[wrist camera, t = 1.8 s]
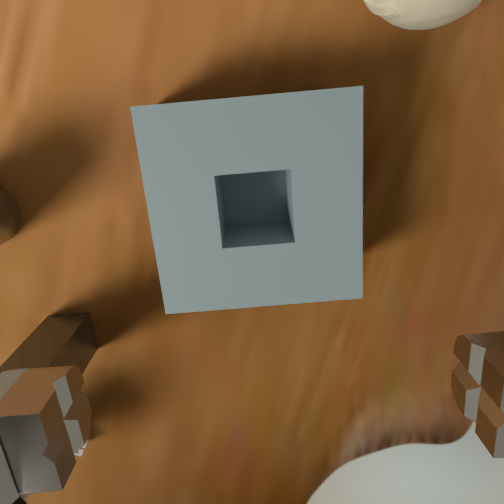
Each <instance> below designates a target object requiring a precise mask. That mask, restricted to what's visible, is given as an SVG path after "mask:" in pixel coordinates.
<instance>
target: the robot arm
mask: <svg viewBox="0 0 504 504" xmlns="http://www.w3.org/2000/svg"><path fill="white" fill-rule="evenodd" d="M454 354H455V356H456V357H457V358H458V359H459V361H460V362H459V363H458V364H457V366H456V367H455V368H454V369H453V370H452V381H451V385H452V390H453V395H454V399H455V401H456V403H457V406H458V408H459V409H460V411H461V412H462V414H463V415H464V416H465V417H467V418H469V419H470V420H472V421H474V422H476V430H475V432H476V434H477V435H478V437H479V438H480V440H481V441H482V442H483V444H484V445H485V447H486V448H487V449H488V451H489V452H490V454H491V455H492V456H493V458H504V331H500V332H490V333H481V334H471V335H461V336H457V338H456V341H455V344H454ZM83 384H84V380H83V376H82V373H81V370H80V369H79V368H78V367H77V366H58V367H41V368H30V369H29V368H23V369H13V370H7V371H3V372H1V373H0V504H12V503H13V502H14V501H15V500H16V499H17V498H19V495H20V494H30V493H39V492H49V491H58V490H63V488H64V486H65V484H66V482H67V480H68V478H69V476H70V474H71V472H72V470H73V468H74V466H75V464H76V460H75V456H74V453H75V452H76V451H77V450H79V449H80V448H81V447H82V446H84V445H85V442H86V440H87V438H88V436H89V433H90V427H91V421H92V416H91V407H90V402H89V399H88V398H87V397H85V396H84V395H83V394H82V393H81V392H80V389H81V387H82V386H83Z"/></svg>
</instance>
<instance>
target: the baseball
mask: <svg viewBox="0 0 504 504" xmlns="http://www.w3.org/2000/svg"><path fill="white" fill-rule="evenodd" d="M363 1H364V3H365V4H366V6H367V7H368V8H369V10H370V11H371V12H372V13H374V14H375V15H378V16H381V17H382V18H383V19H384V20H386V21H387V22H389V23H390V24H392V25H394V26H397V27H400V28H403V29H407V30H427V29H434V28H437V27H441V26H443V25H446V24H449V23H451V22H453V21H455V20H457V19H459V18H461V17H462V16H464V15H466V14H468V13H469V12H470V11H472V10H473V9H475V8H476V7H477V6H478V5H479V4H480V3H481V1H482V0H363Z"/></svg>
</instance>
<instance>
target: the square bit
mask: <svg viewBox="0 0 504 504" xmlns="http://www.w3.org/2000/svg"><path fill="white" fill-rule="evenodd" d="M96 351H97V345H96V341H95V336H94V332H93V328H92V324H91V320H90V315H89V313H81V314H69V315H57V316H47V317H46V319H45V320H44V321H43V322H42V323H41V324H40V325H39V326H38V327H37V328H36V329H35V330H34V331H33V332H32V333H31V335H30V336H29V337H28V338H27V339H26V340H25V341H24V342H23V343H22V344H21V345H20V346H19V347H18V348H17V349H16V350H15V352H14V353H13V354H12V355H11V356H10V357H9V358H8V359H7V360H6V361H5V362H4V363H3V364H2V365H1V366H0V373H1V372H3V371H7V370H13V369H23V368H29V369H30V368H41V367H58V366H77V367H78V368H79V369H80V370H81V373H83V372H84V370H85V369H86V367H87V365H88V364H89V362H90V360H91V359H92V357H93V355H94V354H95V352H96Z"/></svg>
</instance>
